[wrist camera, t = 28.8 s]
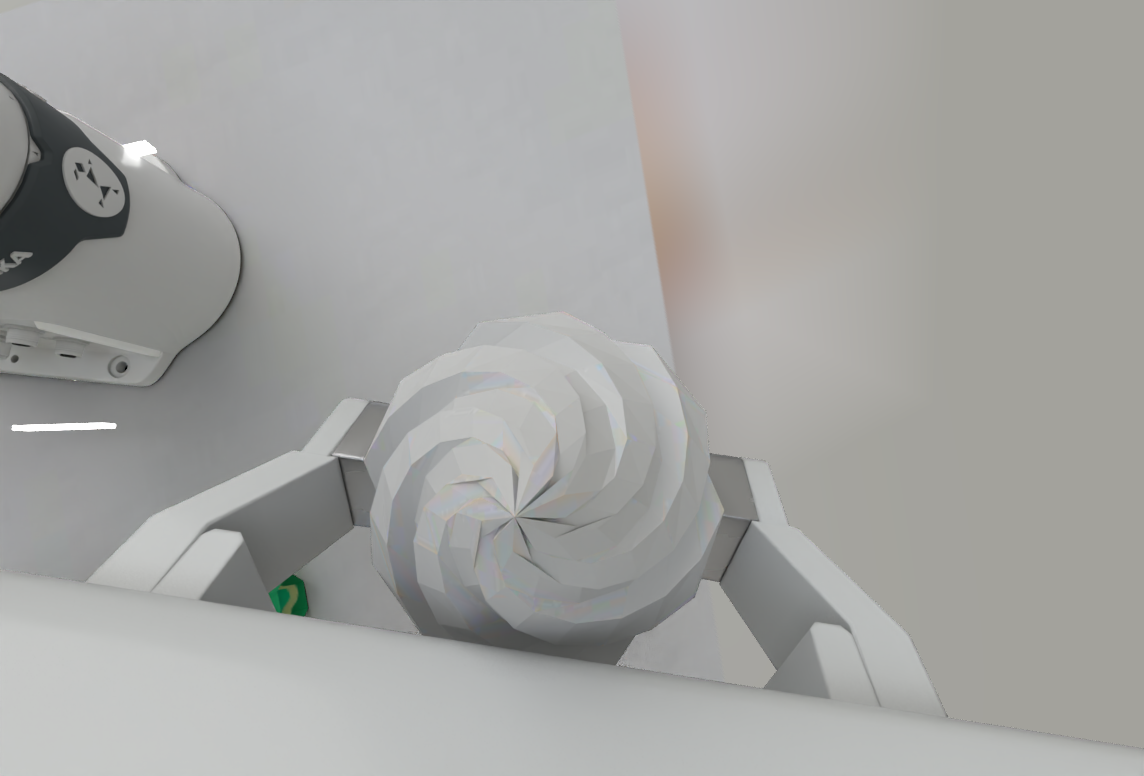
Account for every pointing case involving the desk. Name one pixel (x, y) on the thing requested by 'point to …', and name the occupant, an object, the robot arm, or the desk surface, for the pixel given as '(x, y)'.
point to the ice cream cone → (543, 490)
